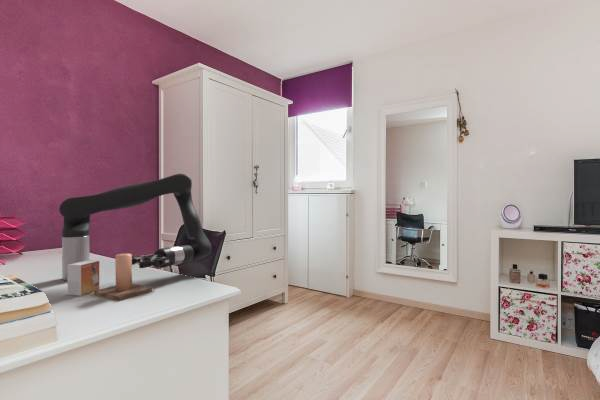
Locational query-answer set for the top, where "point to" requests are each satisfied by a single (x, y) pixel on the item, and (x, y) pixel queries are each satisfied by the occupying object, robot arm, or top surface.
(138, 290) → the walnut board
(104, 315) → the top surface
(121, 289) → the terracotta canister
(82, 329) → the top surface
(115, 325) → the top surface
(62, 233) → the robot arm
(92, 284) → the small box
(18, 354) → the top surface
